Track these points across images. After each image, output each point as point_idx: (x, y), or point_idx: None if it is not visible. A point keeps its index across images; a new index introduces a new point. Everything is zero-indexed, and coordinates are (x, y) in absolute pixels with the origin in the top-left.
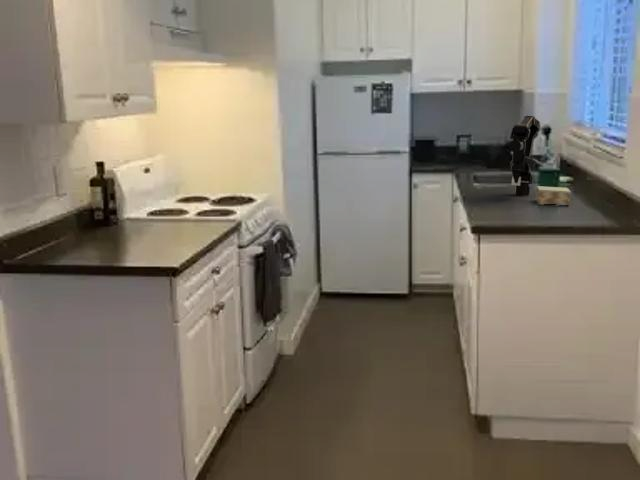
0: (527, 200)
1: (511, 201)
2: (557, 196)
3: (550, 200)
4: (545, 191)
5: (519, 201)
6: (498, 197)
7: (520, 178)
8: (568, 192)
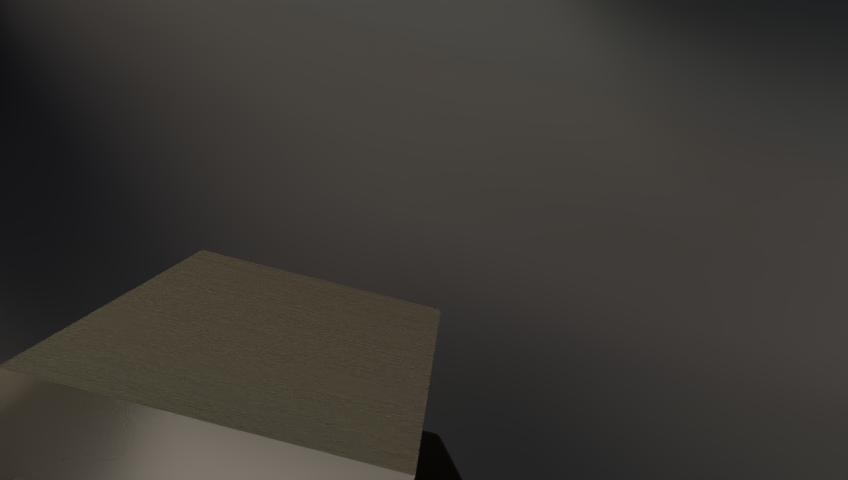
0: (546, 83)
1: (716, 406)
2: None
3: None
4: None
5: (699, 273)
6: None
7: (414, 451)
8: None
